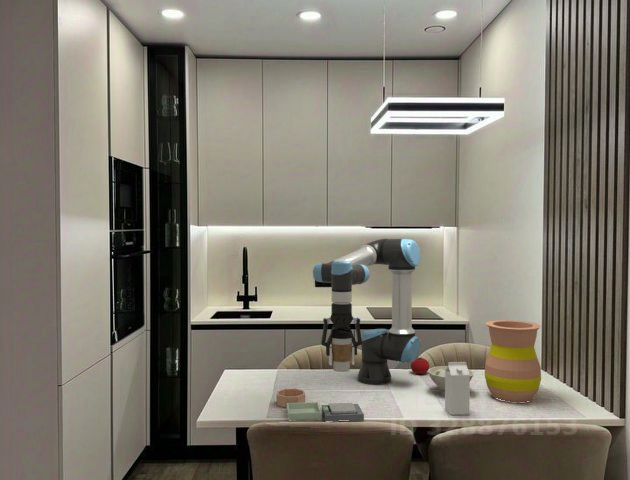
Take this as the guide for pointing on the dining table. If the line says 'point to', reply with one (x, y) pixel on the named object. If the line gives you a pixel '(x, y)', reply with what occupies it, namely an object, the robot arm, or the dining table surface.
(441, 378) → the bowl
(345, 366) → the coffee cup
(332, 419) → the frame
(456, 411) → the milk carton
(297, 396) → the bin
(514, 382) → the vase
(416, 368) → the tomato
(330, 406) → the plate
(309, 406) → the green square tray
